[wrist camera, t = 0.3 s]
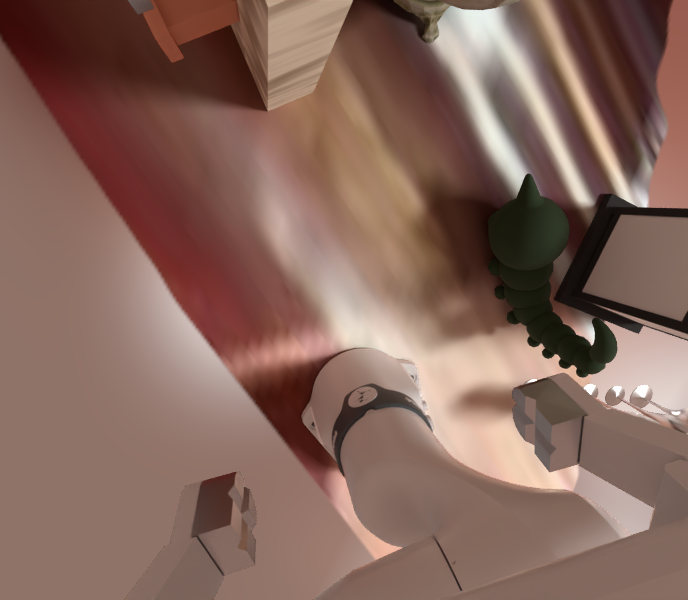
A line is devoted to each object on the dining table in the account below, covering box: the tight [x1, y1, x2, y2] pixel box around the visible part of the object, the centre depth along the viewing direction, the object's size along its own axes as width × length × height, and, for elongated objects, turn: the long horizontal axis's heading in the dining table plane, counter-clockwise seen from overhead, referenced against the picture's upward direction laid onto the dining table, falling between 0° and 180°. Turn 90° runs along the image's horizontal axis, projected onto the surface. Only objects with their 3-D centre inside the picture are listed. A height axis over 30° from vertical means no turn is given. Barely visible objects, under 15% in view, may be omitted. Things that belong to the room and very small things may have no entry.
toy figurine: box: [487, 174, 617, 378], centre depth 50 cm, size 9×19×25 cm
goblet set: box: [523, 379, 688, 434], centre depth 61 cm, size 28×6×13 cm, turn 82°
